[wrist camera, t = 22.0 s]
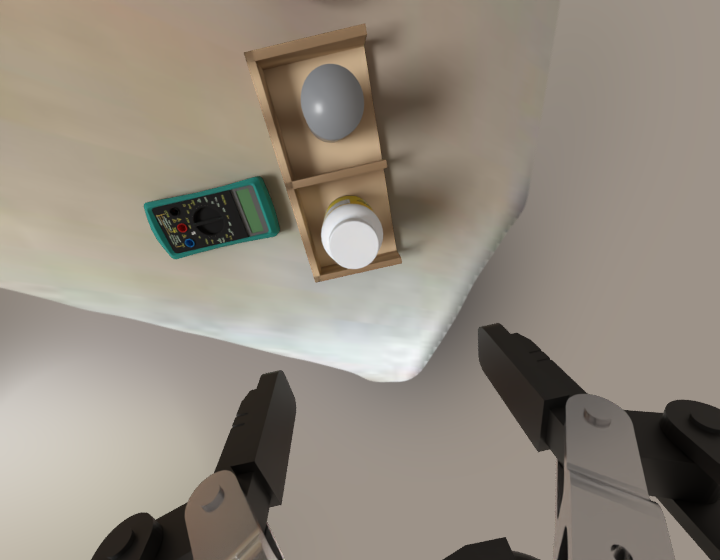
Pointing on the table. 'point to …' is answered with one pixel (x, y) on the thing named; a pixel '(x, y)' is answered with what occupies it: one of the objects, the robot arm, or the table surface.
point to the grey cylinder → (332, 102)
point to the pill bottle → (351, 232)
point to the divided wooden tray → (317, 158)
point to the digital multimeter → (213, 218)
